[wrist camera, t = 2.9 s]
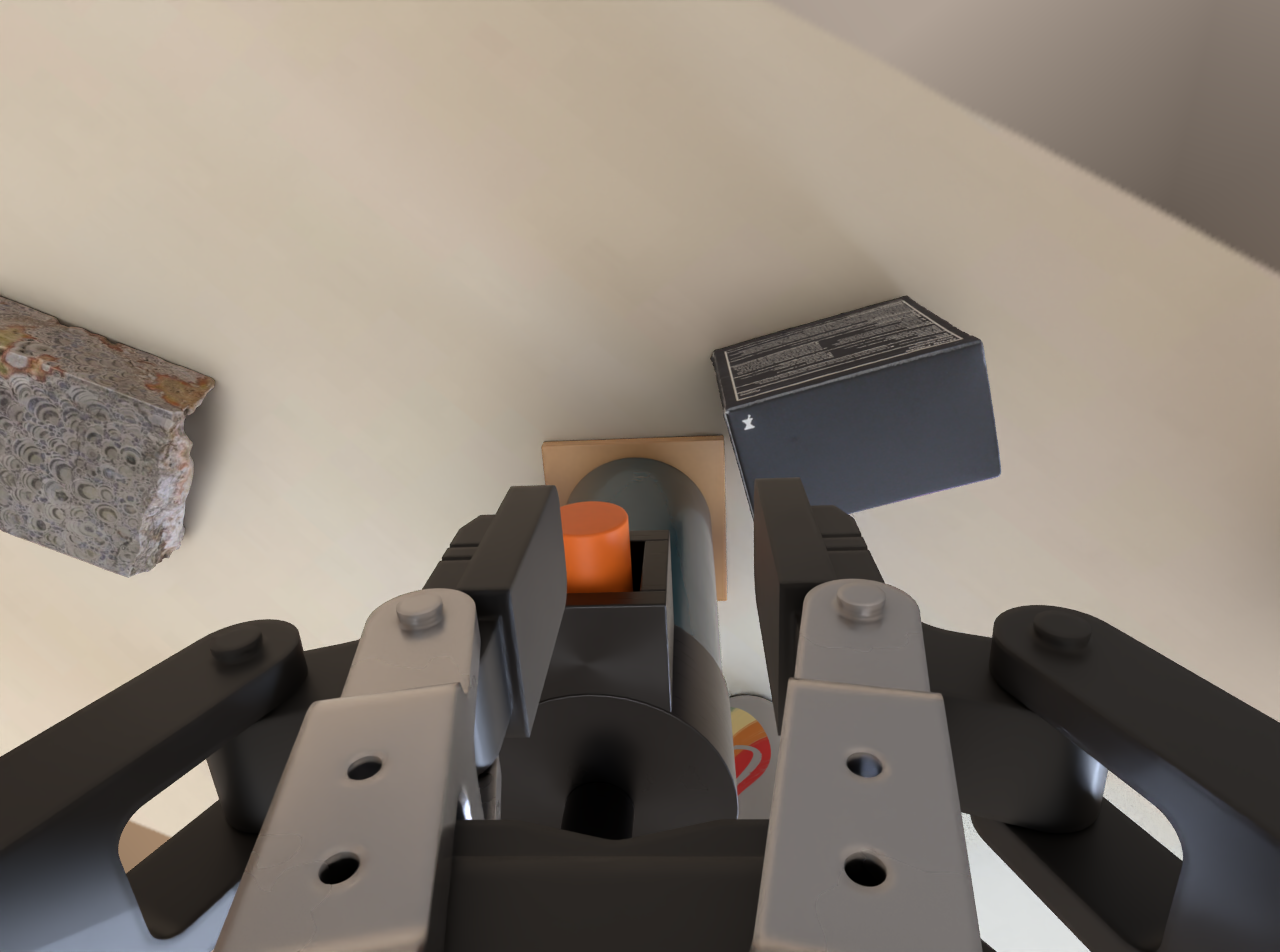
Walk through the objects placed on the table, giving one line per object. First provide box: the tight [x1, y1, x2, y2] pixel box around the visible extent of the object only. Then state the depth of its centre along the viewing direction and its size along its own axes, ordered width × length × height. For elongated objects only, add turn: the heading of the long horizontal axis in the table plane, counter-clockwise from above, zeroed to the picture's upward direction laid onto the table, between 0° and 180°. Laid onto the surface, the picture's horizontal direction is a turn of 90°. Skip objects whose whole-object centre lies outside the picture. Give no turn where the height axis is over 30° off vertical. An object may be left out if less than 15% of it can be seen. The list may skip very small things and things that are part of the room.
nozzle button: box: [560, 501, 633, 593], centre depth 24 cm, size 3×3×3 cm
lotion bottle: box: [729, 695, 781, 819], centre depth 41 cm, size 6×6×20 cm
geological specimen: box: [0, 296, 215, 578], centre depth 42 cm, size 11×6×15 cm
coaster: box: [541, 435, 727, 601], centre depth 45 cm, size 10×10×1 cm
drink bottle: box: [498, 457, 739, 840], centre depth 33 cm, size 12×9×24 cm
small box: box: [711, 296, 1001, 521], centre depth 37 cm, size 11×6×10 cm, turn 107°
